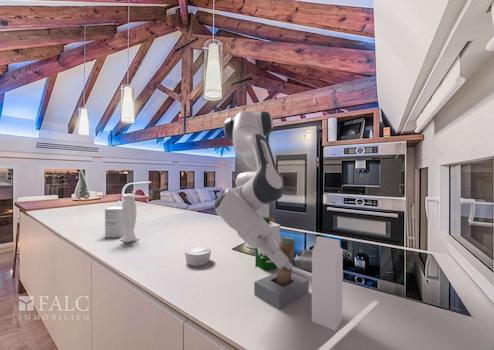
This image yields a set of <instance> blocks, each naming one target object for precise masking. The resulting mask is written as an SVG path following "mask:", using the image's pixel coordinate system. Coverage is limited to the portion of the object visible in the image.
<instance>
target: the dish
mask: <svg viewBox="0 0 494 350" xmlns="http://www.w3.org/2000/svg"><path fill="white" fill-rule="evenodd" d="M312 250H313V249H305V250H303V251H302V254H301V255H300V256H299V255H298V254H296V255H295V257H294V264H295V265H296V266H297V269H300V270H303V271H306V272H310V273H312Z"/></svg>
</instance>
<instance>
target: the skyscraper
mask: <svg viewBox="0 0 494 350" xmlns="http://www.w3.org/2000/svg"><path fill="white" fill-rule="evenodd" d="M135 198H136V191H134V190H132V191H131V193H124V194H122V200H123V202H122V206H121V207H122V223H123V229H124V235H123V236H122V239H120V240H119V241H120V242H122V241H123V243H127V244H128V243H129V242H130V243H133V242H136V241H140V238H137V237H136V234H135V227H136V222H137V205H136V200H135Z"/></svg>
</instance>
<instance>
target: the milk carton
mask: <svg viewBox="0 0 494 350" xmlns="http://www.w3.org/2000/svg"><path fill="white" fill-rule="evenodd" d="M262 218H263V219H264V220H265V221H266V222H267V223H268V224H269V225H270V226H271V229H270V232H271V233H272V235H271V236H272V237H273V238H274V240H275V241H276V243H277V244H278V242H279V232H280V229H281V224H278V223H276V222H274V223H273V222H270V221H269V219H270V217H269V218H268V217H262ZM254 262H255V268H260V269H261V270H262V271H264V272H266V271H271V270H274V269H277V268H278V267H277V266H276V265H275V264H274V263H273V262H272V261H271V260H270V259H269V258H268V257H267V255H266V254H265V253H264V252H263V251H262V249H261V248H257V247H256V249H255V261H254Z"/></svg>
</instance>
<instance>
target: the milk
mask: <svg viewBox="0 0 494 350" xmlns="http://www.w3.org/2000/svg"><path fill="white" fill-rule="evenodd" d="M340 245H341V242H340V240H339V239H338V238H337V239H335V238H330V237H326V236H325V237H323V236H318V235H317V236H316V238H315V243H314V246H313V249H311V250H312V272H311V322H312V323H315V324H317V325H319V326H323V327H325V328H327V329H330V330H333V331H335V332H336V331H337V329H338V327H339V325H340V324H341V322H342V320H343V280H344V279H343V273H344V272H343V269H344V268H343V266H344V264H343V263H344V261H343V260H344V259H343V255H344V253H343V252H344V250H343V248H342V247H341V246H340Z"/></svg>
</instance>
